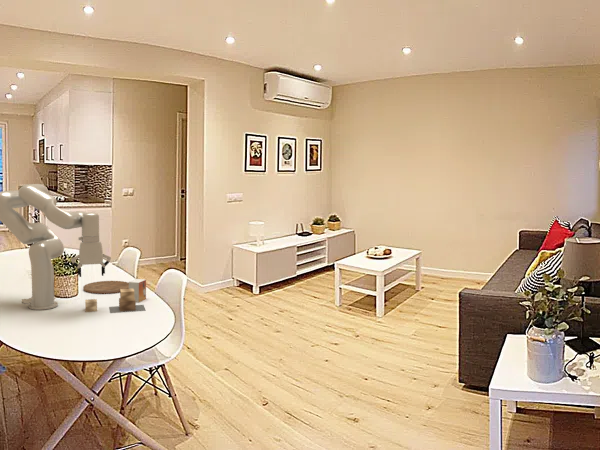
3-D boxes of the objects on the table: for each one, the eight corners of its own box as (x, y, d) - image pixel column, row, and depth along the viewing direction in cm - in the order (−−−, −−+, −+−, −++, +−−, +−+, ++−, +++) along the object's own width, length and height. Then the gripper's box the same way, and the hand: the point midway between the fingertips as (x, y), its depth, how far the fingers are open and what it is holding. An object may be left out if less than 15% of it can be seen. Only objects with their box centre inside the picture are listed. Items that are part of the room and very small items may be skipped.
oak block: (121, 301, 248) (121, 292, 247) (120, 298, 253) (120, 289, 253) (134, 300, 250) (134, 291, 249) (133, 297, 255) (133, 288, 255)
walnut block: (120, 311, 247) (120, 301, 247) (119, 307, 254) (119, 298, 253) (135, 310, 250) (135, 300, 250) (134, 306, 256) (134, 297, 256)
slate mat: (110, 313, 244) (110, 313, 244) (108, 307, 254) (108, 306, 254) (145, 311, 250) (145, 310, 250) (143, 305, 260) (143, 304, 260)
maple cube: (85, 312, 245) (85, 302, 244) (85, 310, 249) (85, 299, 249) (97, 312, 246) (96, 301, 246) (96, 309, 251) (96, 299, 250)
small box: (138, 303, 264) (138, 282, 262) (128, 302, 265) (128, 281, 263) (146, 299, 271) (146, 279, 270) (136, 298, 272) (136, 278, 271)
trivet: (140, 287, 298) (140, 283, 298) (111, 297, 275) (111, 293, 275) (104, 282, 306) (104, 279, 306) (72, 291, 283) (72, 288, 283)
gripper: (70, 241, 237) (71, 278, 239) (110, 240, 244) (111, 276, 246) (70, 238, 244) (71, 275, 246) (110, 237, 251) (110, 273, 252)
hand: (91, 275), depth 246 cm, fingers open, 9 cm apart
